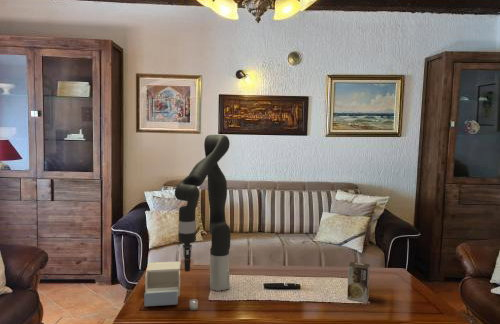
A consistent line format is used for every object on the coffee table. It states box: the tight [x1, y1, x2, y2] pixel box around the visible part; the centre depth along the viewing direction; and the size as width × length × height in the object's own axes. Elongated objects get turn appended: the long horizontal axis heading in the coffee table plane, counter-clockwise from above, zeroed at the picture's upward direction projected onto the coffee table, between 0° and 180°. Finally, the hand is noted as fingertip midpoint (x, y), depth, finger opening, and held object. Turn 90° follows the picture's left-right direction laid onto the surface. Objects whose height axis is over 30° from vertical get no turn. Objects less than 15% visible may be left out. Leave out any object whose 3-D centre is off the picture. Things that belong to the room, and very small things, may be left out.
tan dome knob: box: [180, 258, 195, 269], centre depth 168 cm, size 6×6×2 cm
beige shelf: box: [144, 260, 181, 297], centre depth 187 cm, size 16×15×12 cm
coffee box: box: [346, 261, 371, 303], centre depth 180 cm, size 9×6×16 cm
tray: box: [143, 287, 179, 307], centre depth 175 cm, size 14×14×6 cm
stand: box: [189, 298, 199, 312], centre depth 169 cm, size 4×4×4 cm
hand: (187, 268), depth 168 cm, fingers closed on tan dome knob, 5 cm apart
